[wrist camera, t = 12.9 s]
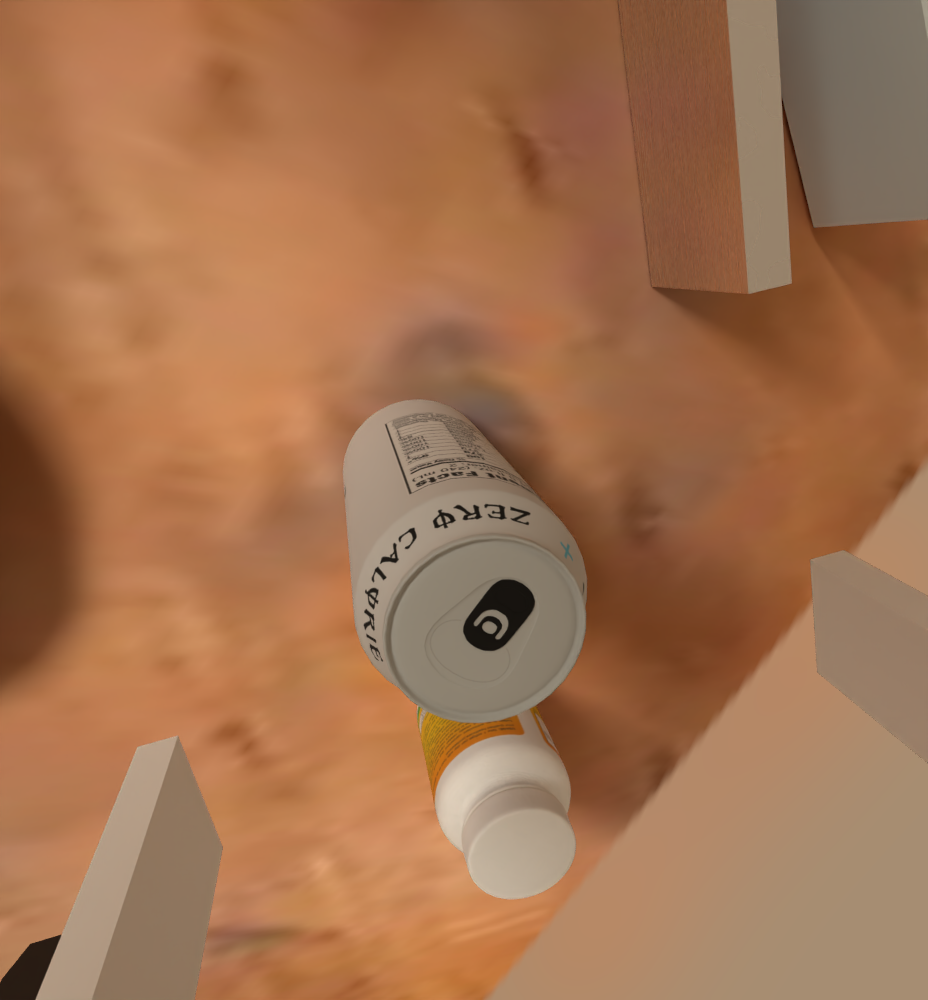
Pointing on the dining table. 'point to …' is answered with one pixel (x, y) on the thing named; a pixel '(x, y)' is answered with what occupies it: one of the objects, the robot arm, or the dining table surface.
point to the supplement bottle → (501, 800)
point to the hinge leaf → (857, 106)
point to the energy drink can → (457, 567)
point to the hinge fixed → (709, 142)
